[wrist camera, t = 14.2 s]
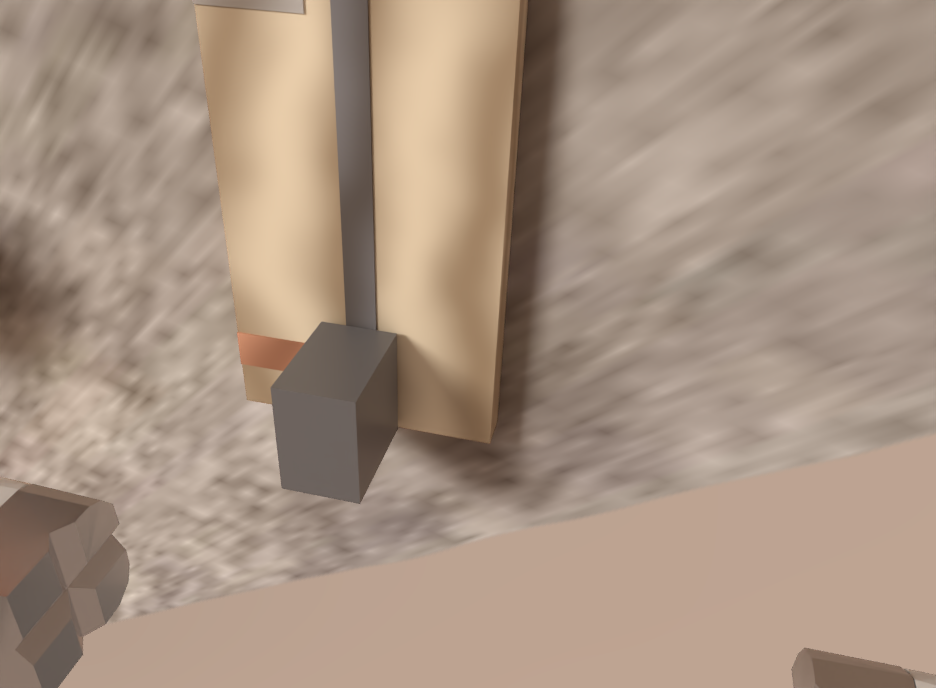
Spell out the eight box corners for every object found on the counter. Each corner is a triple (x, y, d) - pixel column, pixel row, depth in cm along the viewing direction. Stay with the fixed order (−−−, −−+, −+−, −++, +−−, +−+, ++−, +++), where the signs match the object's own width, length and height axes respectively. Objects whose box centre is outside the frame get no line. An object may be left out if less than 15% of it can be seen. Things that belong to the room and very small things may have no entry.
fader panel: (534, -89, 32) (525, -85, 30) (497, 421, 45) (489, 444, 43) (204, -110, 34) (178, -107, 32) (262, 380, 47) (246, 400, 46)
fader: (396, 333, 40) (355, 402, 36) (397, 428, 44) (360, 503, 39) (321, 321, 41) (270, 387, 36) (327, 415, 44) (281, 488, 39)
